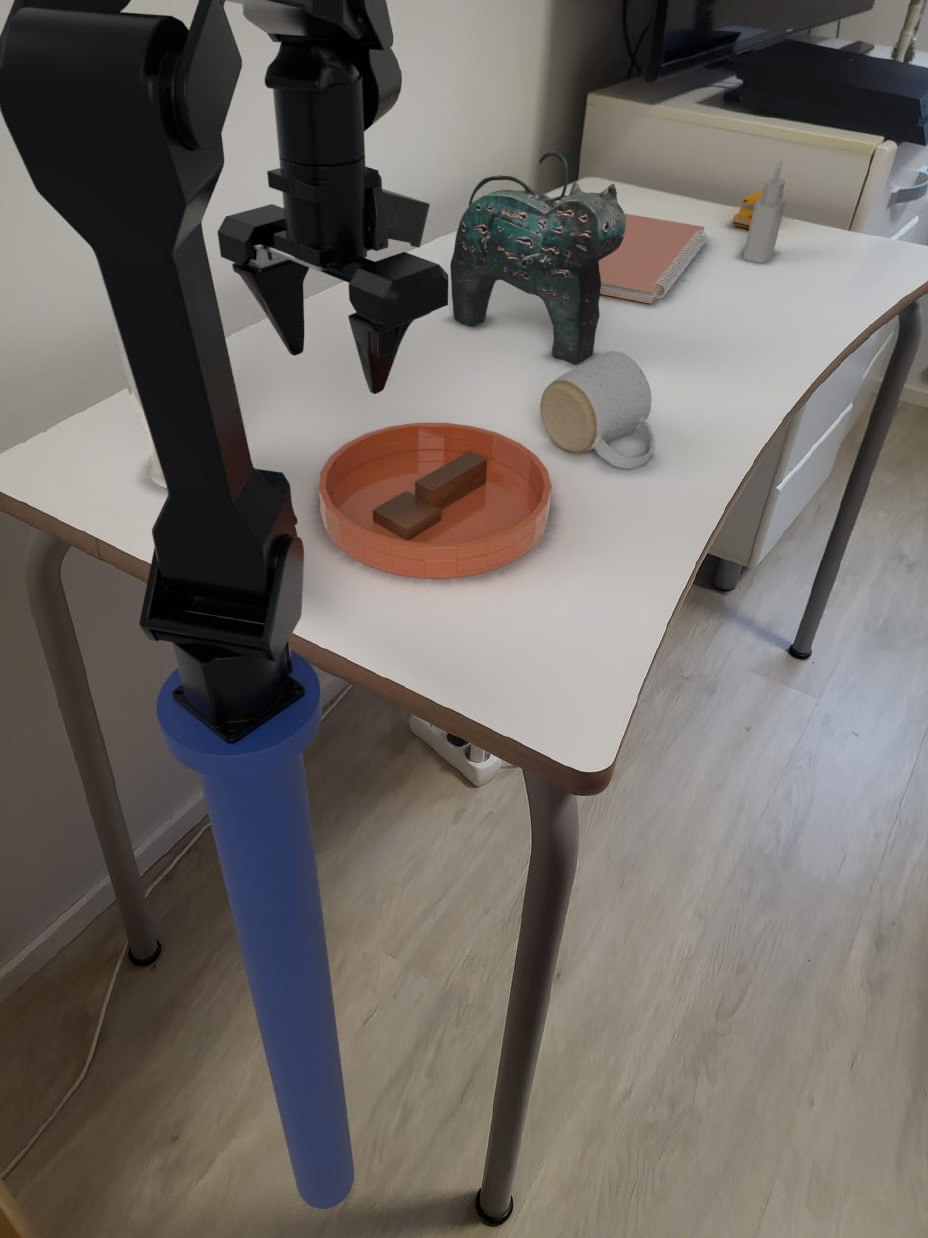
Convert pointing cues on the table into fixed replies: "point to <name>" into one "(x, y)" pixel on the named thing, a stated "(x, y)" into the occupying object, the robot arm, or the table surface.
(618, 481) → the table surface
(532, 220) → the ceramic cat
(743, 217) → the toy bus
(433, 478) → the stepped brown block
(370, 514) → the bowl
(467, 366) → the table surface
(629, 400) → the ceramic mug
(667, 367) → the table surface
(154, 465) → the beer glass
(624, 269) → the notebook
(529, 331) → the table surface
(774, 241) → the grey nozzle bottle
